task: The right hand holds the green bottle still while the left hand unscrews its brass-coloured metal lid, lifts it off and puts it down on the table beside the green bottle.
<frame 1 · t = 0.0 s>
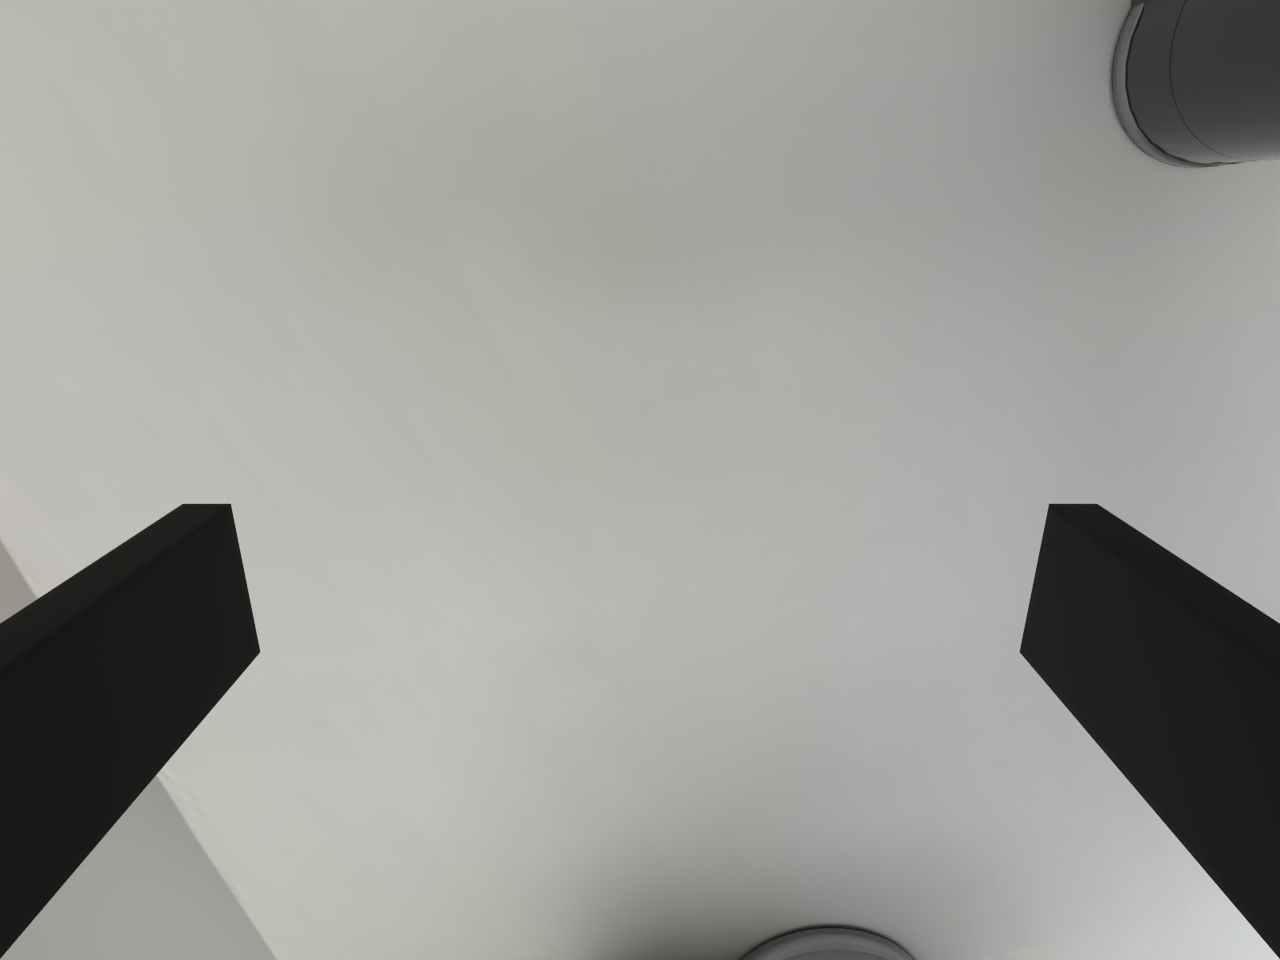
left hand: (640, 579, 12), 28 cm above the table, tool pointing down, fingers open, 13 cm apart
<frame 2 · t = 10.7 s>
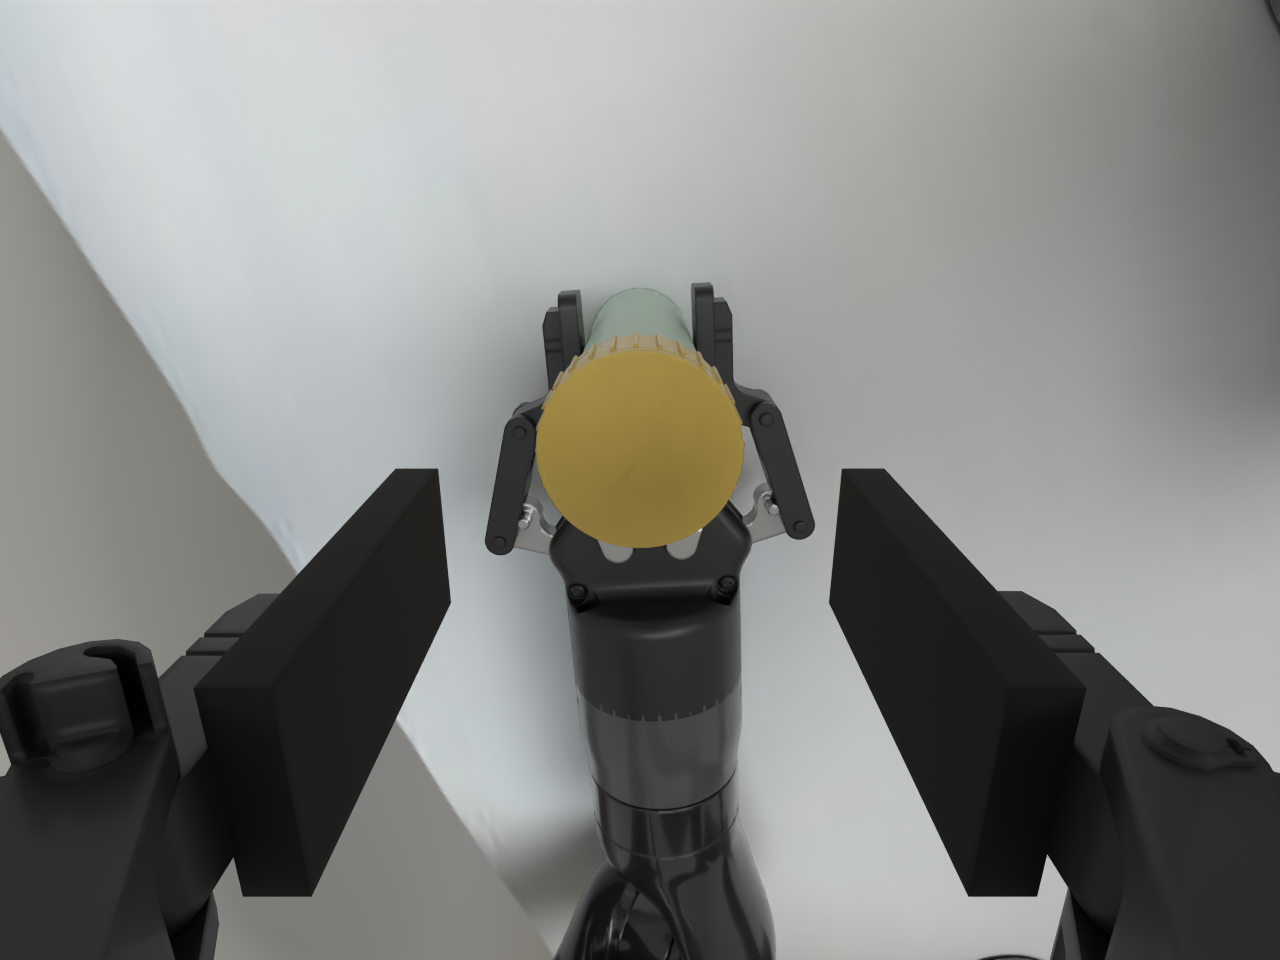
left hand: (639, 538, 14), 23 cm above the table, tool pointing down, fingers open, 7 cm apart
right hand: (634, 290, 29), fingers closed on green bottle, 4 cm apart
lid: (639, 449, 19), point 17 cm above the table, screwed on, not yet turned
green bottle: (639, 335, 35), on the table, touching right hand
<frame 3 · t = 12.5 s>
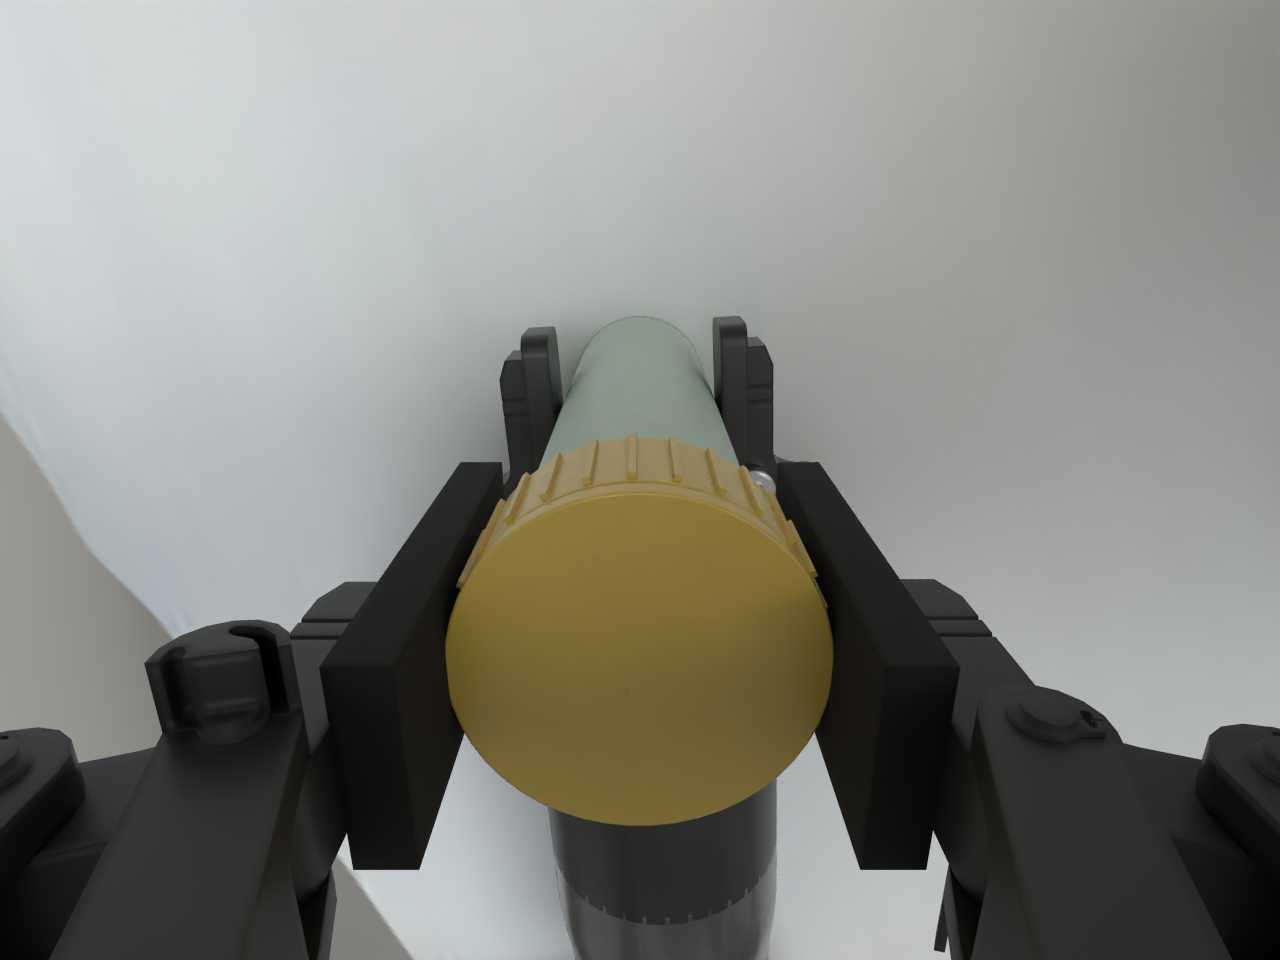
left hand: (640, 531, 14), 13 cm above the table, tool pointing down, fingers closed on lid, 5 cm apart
lid: (639, 659, 10), point 17 cm above the table, screwed on, not yet turned, touching left hand
green bottle: (639, 378, 27), on the table, touching right hand
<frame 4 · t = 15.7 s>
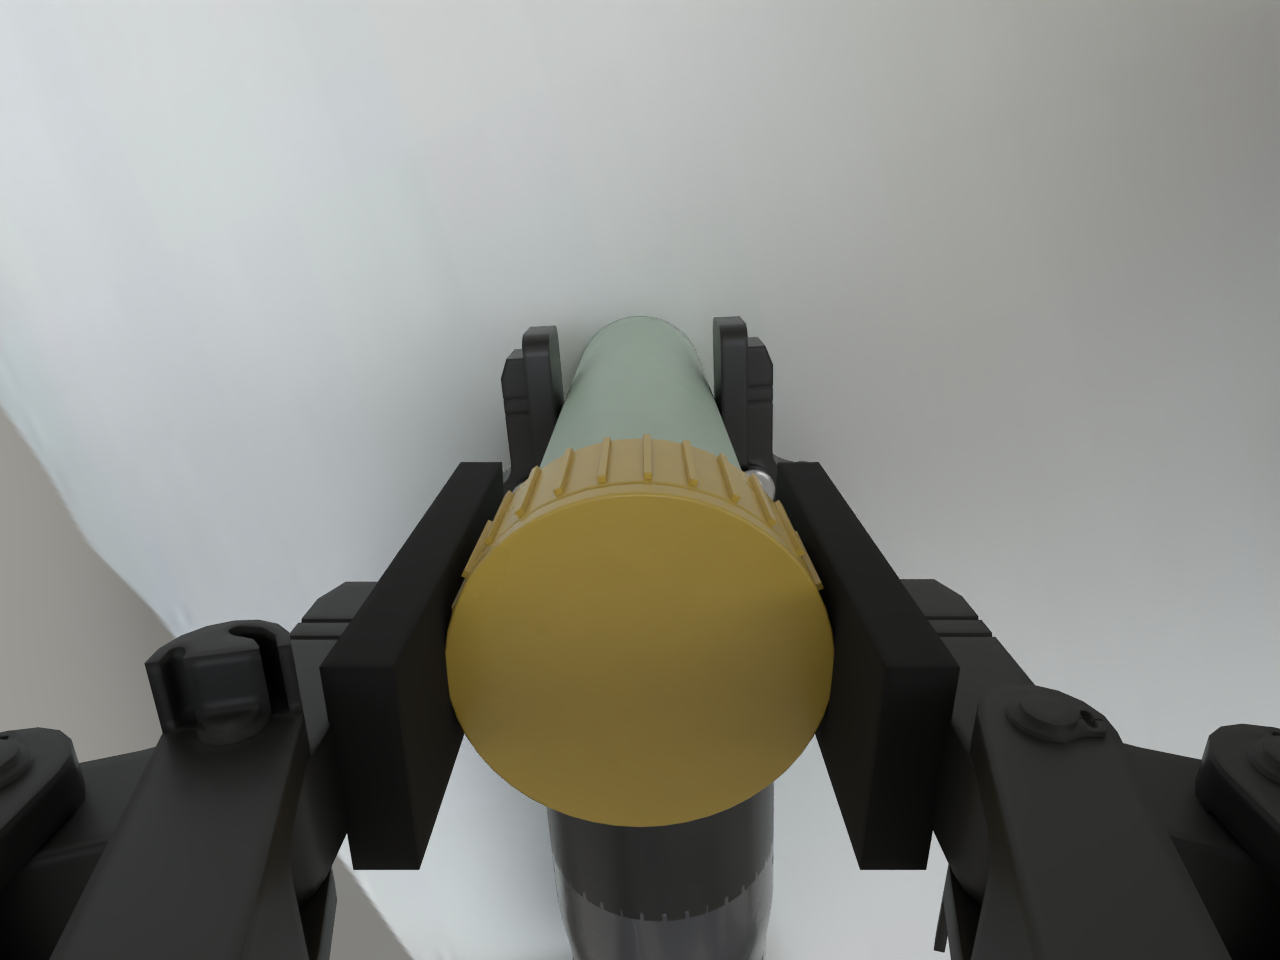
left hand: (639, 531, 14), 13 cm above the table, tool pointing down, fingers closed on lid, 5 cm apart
lid: (639, 660, 10), point 18 cm above the table, turned 86° so far, risen 0.1 cm, still on its thread, touching left hand
green bottle: (640, 378, 27), on the table, touching right hand
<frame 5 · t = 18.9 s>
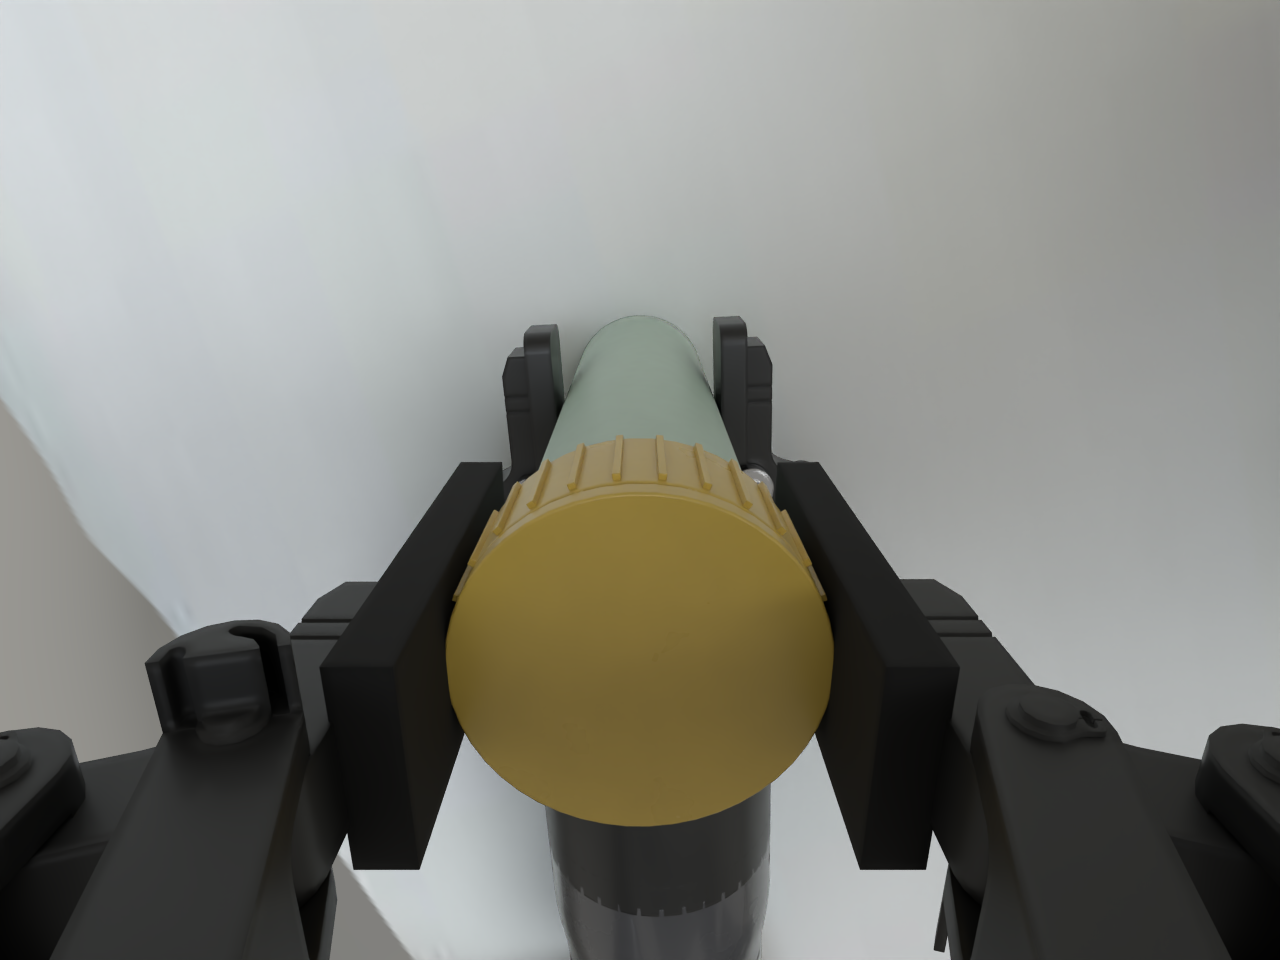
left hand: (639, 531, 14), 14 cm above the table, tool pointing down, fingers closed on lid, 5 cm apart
lid: (639, 659, 10), point 18 cm above the table, turned 172° so far, risen 0.3 cm, still on its thread, touching left hand
green bottle: (640, 377, 27), on the table, touching right hand
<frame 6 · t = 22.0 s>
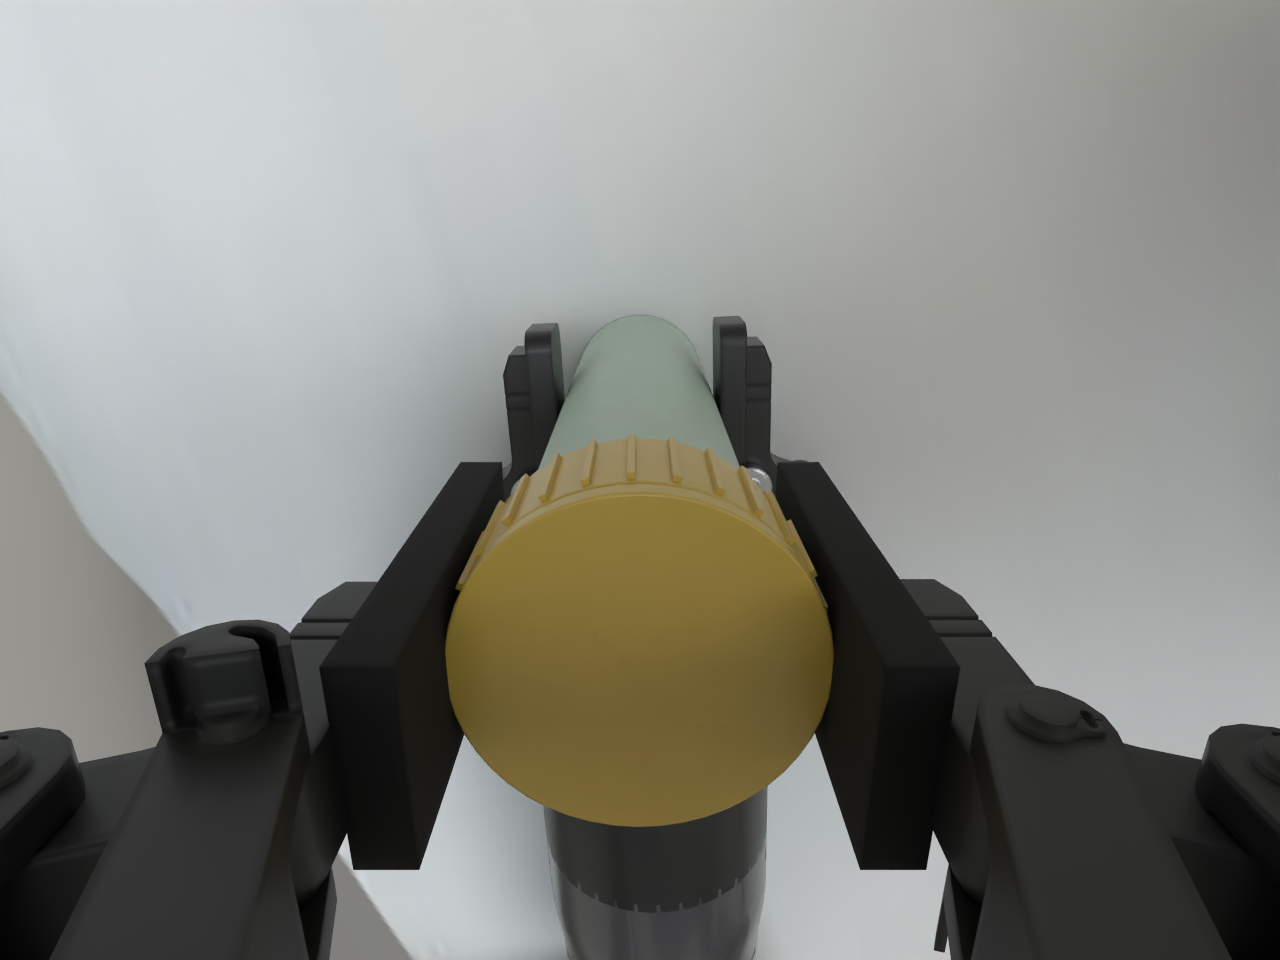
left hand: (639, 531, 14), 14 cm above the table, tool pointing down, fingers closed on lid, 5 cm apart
right hand: (634, 326, 20), fingers closed on green bottle, 4 cm apart
lid: (639, 660, 10), point 18 cm above the table, turned 259° so far, risen 0.4 cm, still on its thread, touching left hand
green bottle: (639, 376, 27), on the table, touching right hand
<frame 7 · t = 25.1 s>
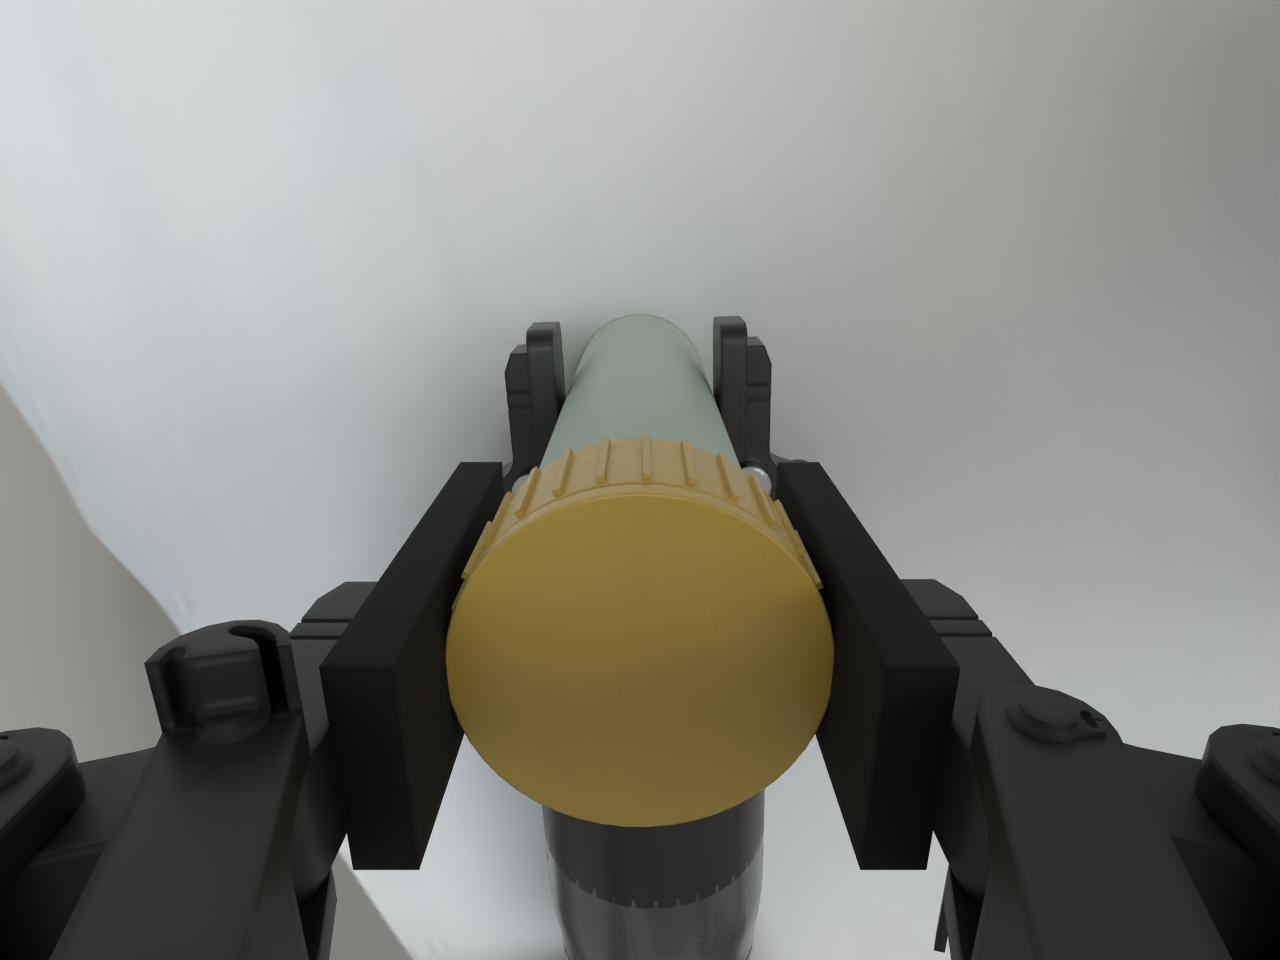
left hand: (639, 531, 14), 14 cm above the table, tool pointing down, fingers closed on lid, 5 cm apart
lid: (640, 660, 10), point 18 cm above the table, turned 345° so far, risen 0.6 cm, still on its thread, touching left hand
green bottle: (640, 375, 27), on the table, touching right hand
when the left hand's fingers open (0 cm above the table, at t = 35.2 s): lid drops 3 cm, point 2 cm above the table.
when the right hand's fingers open (6 cm above the table, at t = 35.9 s): green bottle stays where it is, on the table.
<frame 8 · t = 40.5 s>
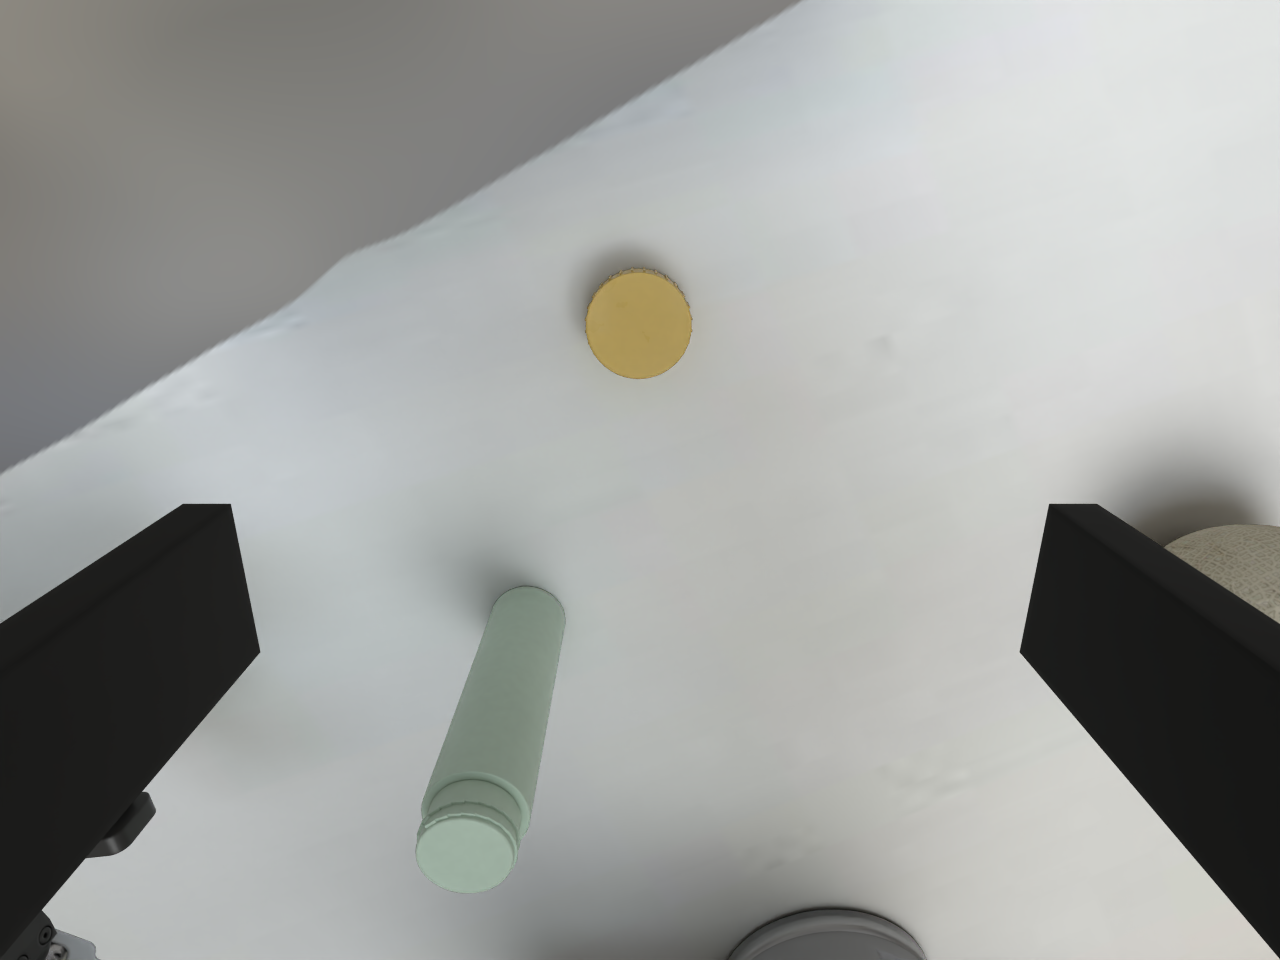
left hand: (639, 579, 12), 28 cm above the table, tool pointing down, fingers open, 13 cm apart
lid: (638, 325, 37), point 2 cm above the table, off its thread
fruit: (1186, 578, 44), on the table
green bottle: (528, 618, 45), on the table
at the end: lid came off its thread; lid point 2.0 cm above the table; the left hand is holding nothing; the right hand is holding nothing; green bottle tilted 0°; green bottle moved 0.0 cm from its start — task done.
